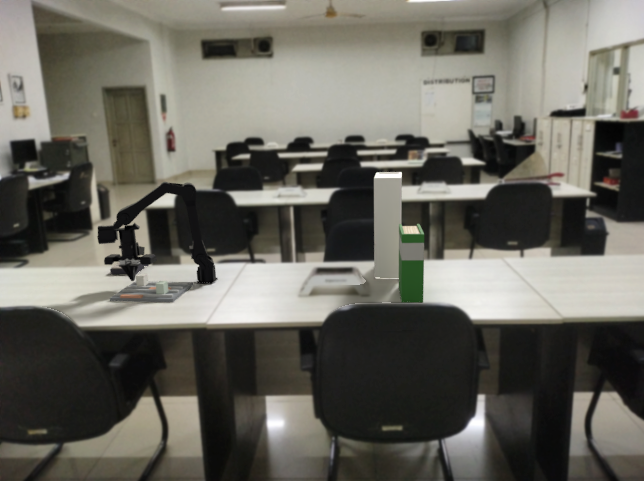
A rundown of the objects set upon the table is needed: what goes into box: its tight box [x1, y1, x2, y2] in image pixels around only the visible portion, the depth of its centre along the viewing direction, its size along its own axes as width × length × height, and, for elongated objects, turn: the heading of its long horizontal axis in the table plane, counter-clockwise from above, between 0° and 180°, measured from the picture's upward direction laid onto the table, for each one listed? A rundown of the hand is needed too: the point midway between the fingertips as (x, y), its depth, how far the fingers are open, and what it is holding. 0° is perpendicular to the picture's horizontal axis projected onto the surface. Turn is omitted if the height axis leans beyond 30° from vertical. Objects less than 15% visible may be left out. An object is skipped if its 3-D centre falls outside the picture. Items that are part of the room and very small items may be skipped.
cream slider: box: [135, 273, 149, 286], centre depth 204 cm, size 3×4×4 cm
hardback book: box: [398, 223, 425, 303], centre depth 188 cm, size 18×7×24 cm, turn 175°
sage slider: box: [156, 280, 169, 294], centre depth 193 cm, size 3×4×4 cm
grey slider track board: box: [109, 280, 194, 303], centre depth 199 cm, size 24×20×2 cm
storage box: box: [373, 171, 403, 278], centre depth 214 cm, size 21×10×40 cm, turn 172°
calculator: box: [109, 262, 150, 275], centre depth 232 cm, size 11×4×15 cm
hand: (132, 280), depth 204 cm, fingers closed
